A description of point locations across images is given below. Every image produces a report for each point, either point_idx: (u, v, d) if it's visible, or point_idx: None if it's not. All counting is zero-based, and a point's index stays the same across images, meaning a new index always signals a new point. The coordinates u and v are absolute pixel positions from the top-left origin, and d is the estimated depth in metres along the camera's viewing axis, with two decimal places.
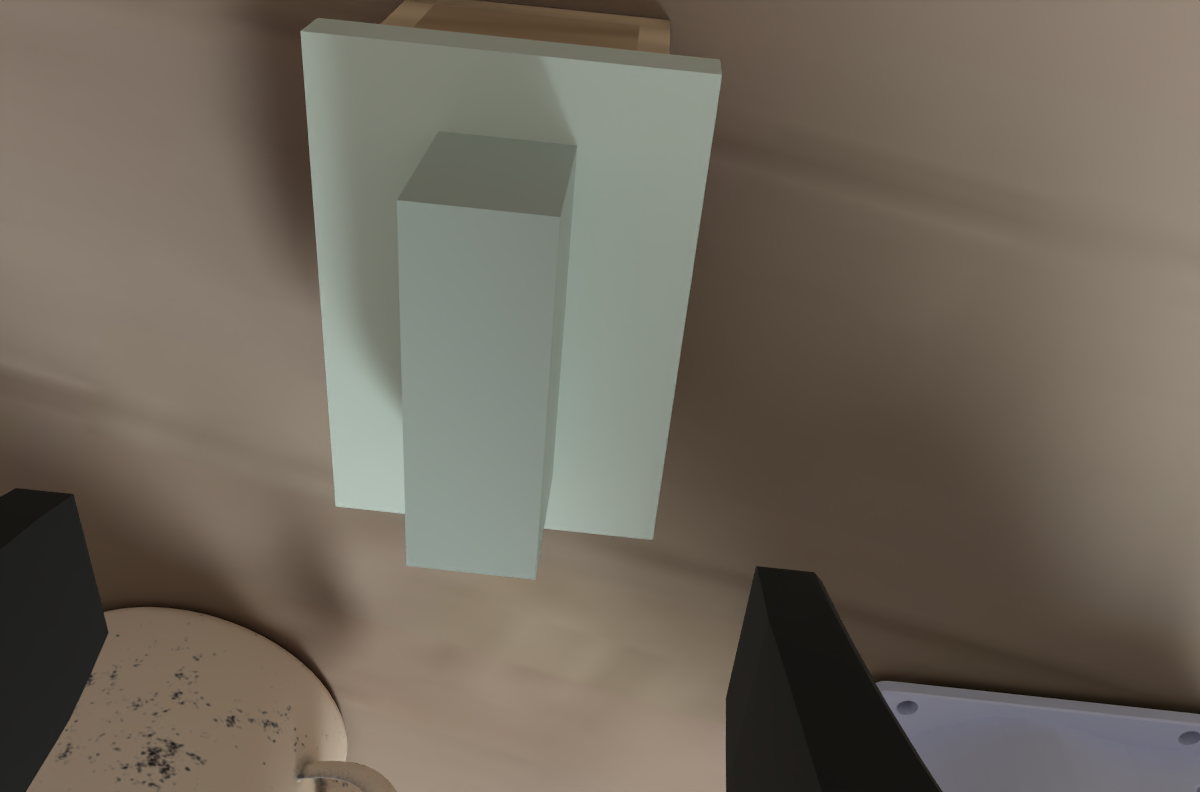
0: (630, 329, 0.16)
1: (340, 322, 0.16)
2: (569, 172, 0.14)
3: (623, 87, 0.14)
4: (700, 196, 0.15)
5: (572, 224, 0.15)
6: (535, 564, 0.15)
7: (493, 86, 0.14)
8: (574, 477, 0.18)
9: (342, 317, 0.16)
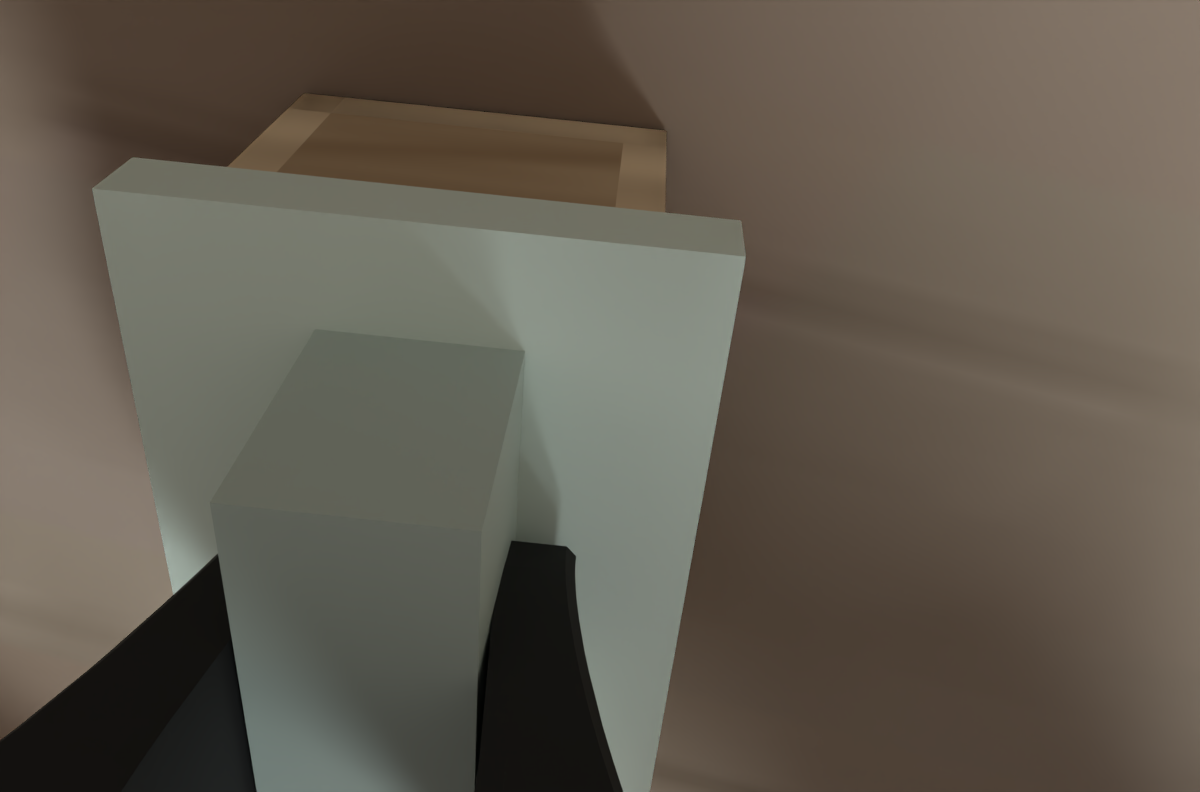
0: (609, 586, 0.11)
1: (195, 570, 0.11)
2: (507, 414, 0.09)
3: (593, 272, 0.09)
4: (711, 420, 0.10)
5: (521, 454, 0.10)
6: None
7: (394, 269, 0.09)
8: None
9: (196, 565, 0.11)
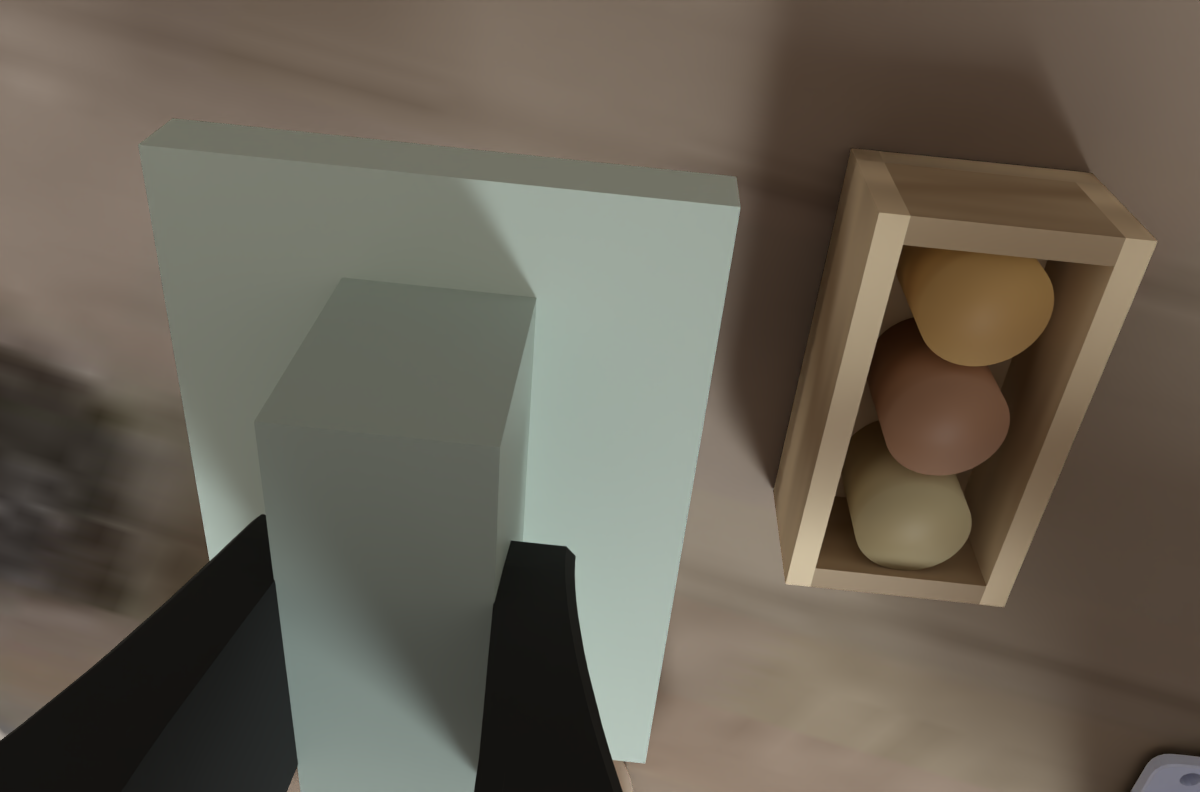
0: (614, 525, 0.12)
1: (226, 511, 0.12)
2: (521, 351, 0.09)
3: (599, 222, 0.10)
4: (708, 363, 0.11)
5: (532, 396, 0.11)
6: None
7: (415, 220, 0.10)
8: None
9: (227, 505, 0.12)
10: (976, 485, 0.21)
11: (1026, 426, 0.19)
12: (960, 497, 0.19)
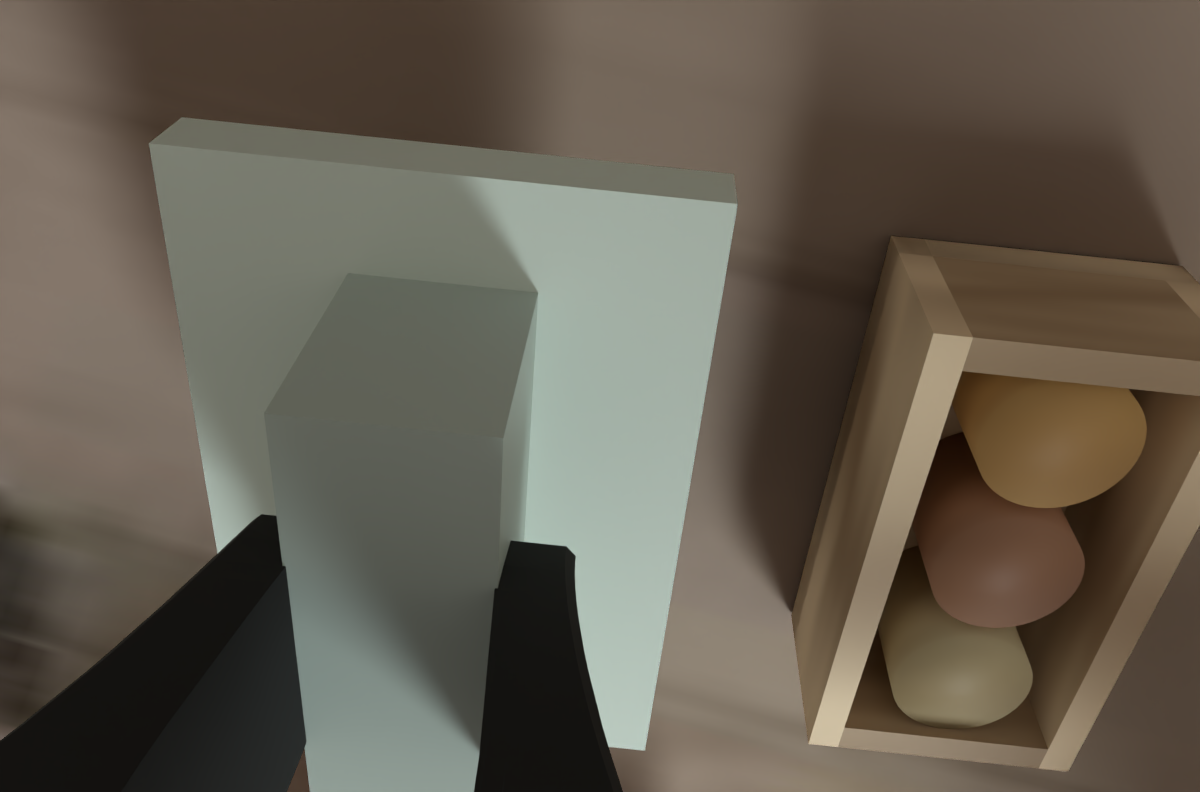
0: (614, 515, 0.12)
1: (233, 502, 0.12)
2: (523, 345, 0.10)
3: (600, 219, 0.10)
4: (706, 357, 0.11)
5: (534, 389, 0.11)
6: None
7: (420, 216, 0.10)
8: None
9: (235, 497, 0.12)
10: (1032, 620, 0.18)
11: (1100, 568, 0.16)
12: (1020, 651, 0.16)
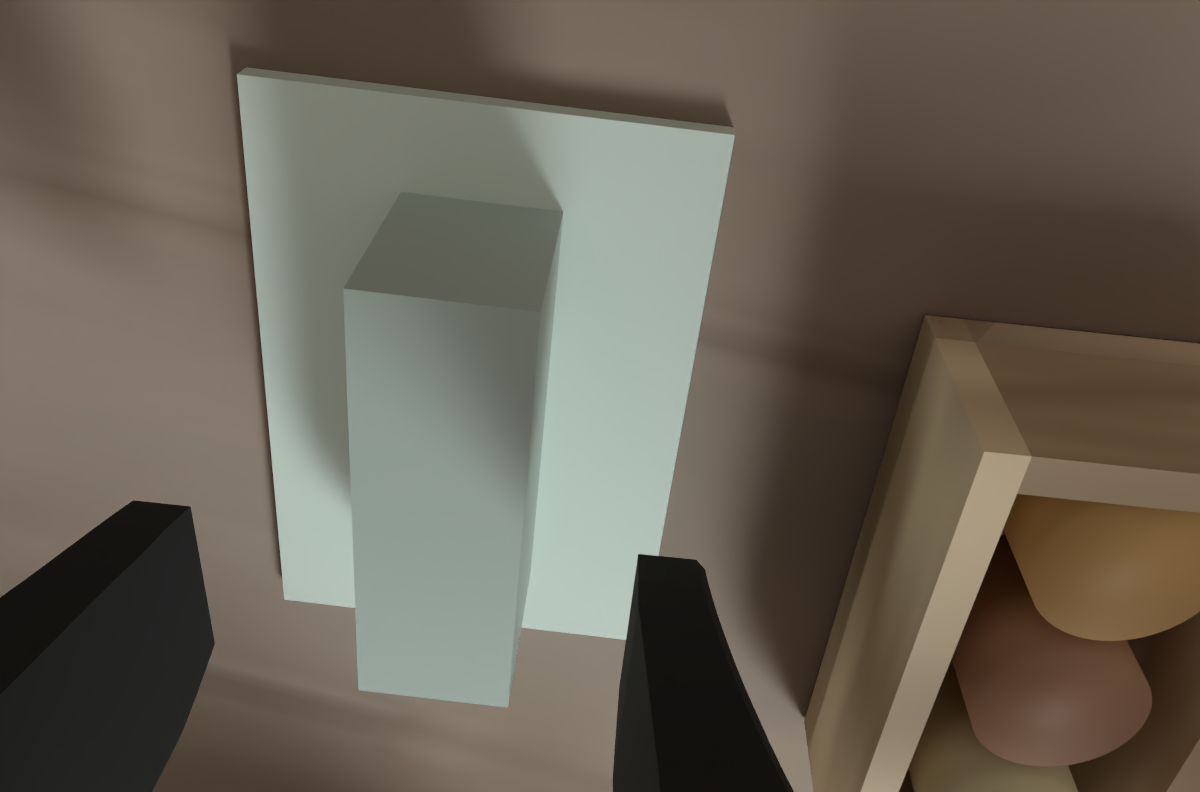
0: (622, 417, 0.14)
1: (288, 401, 0.14)
2: (553, 248, 0.11)
3: (618, 146, 0.12)
4: (705, 271, 0.13)
5: (556, 299, 0.13)
6: (507, 691, 0.13)
7: (465, 142, 0.12)
8: (555, 573, 0.16)
9: (289, 396, 0.14)
10: None
11: (1166, 697, 0.14)
12: (1072, 791, 0.14)
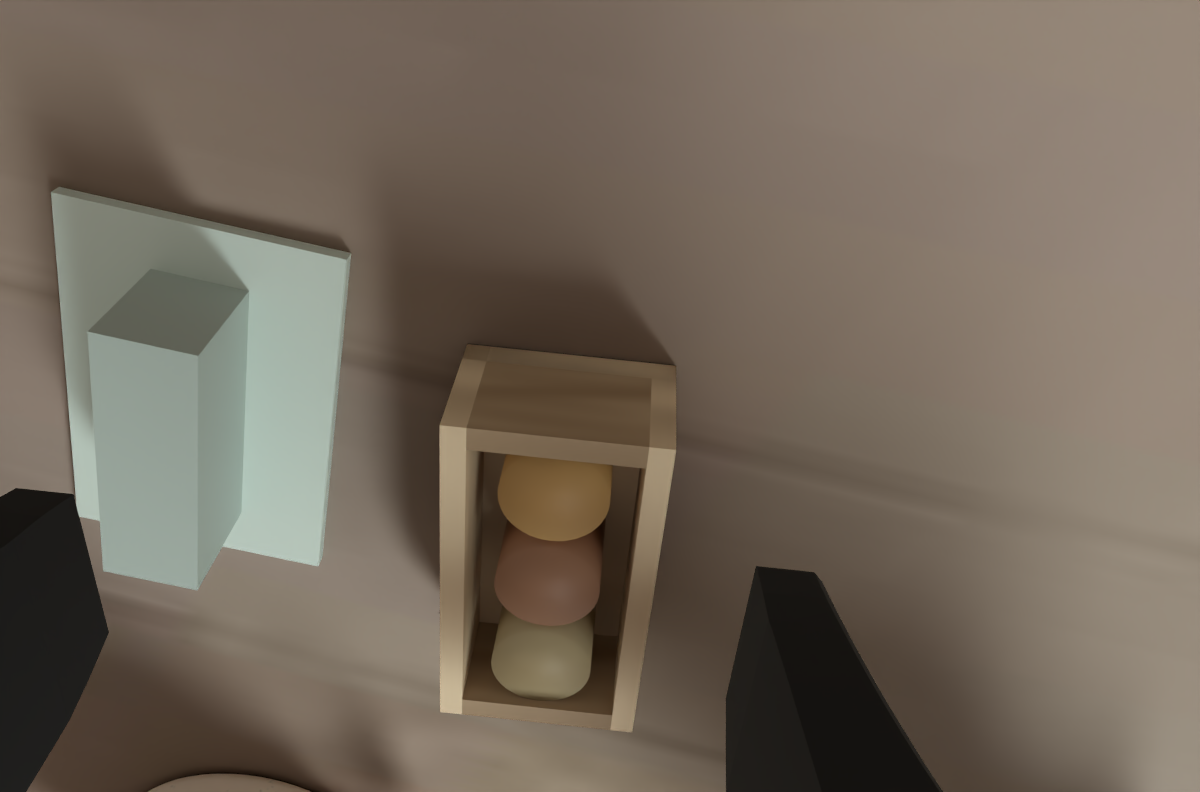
0: (293, 416, 0.22)
1: (80, 385, 0.22)
2: (228, 316, 0.20)
3: (279, 258, 0.20)
4: (337, 334, 0.21)
5: (248, 341, 0.21)
6: (196, 579, 0.21)
7: (188, 245, 0.20)
8: (258, 514, 0.24)
9: (81, 383, 0.22)
10: (620, 620, 0.24)
11: (628, 582, 0.22)
12: (574, 643, 0.22)
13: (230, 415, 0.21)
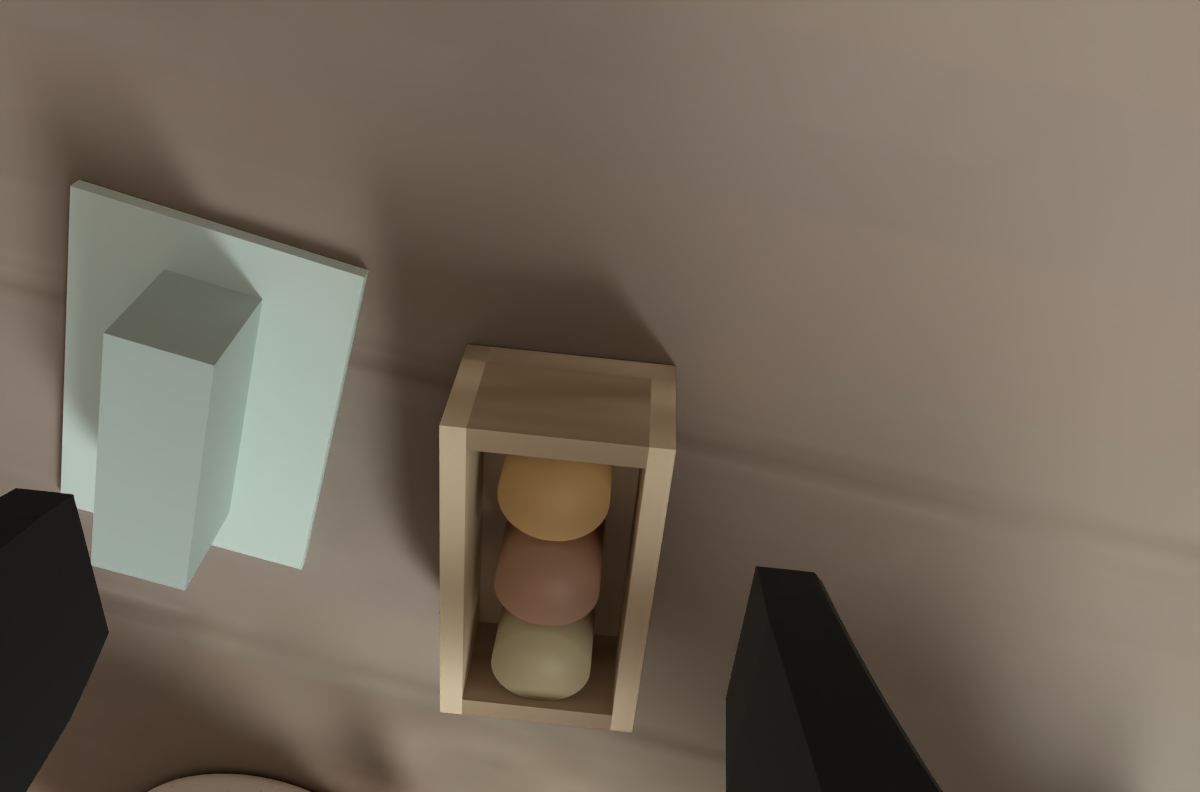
0: (293, 423, 0.22)
1: (78, 378, 0.22)
2: (242, 324, 0.20)
3: (296, 270, 0.20)
4: (346, 348, 0.21)
5: (255, 347, 0.21)
6: (185, 580, 0.21)
7: (205, 250, 0.20)
8: (246, 515, 0.24)
9: (80, 374, 0.22)
10: (620, 620, 0.24)
11: (628, 582, 0.22)
12: (574, 643, 0.22)
13: (232, 419, 0.21)
